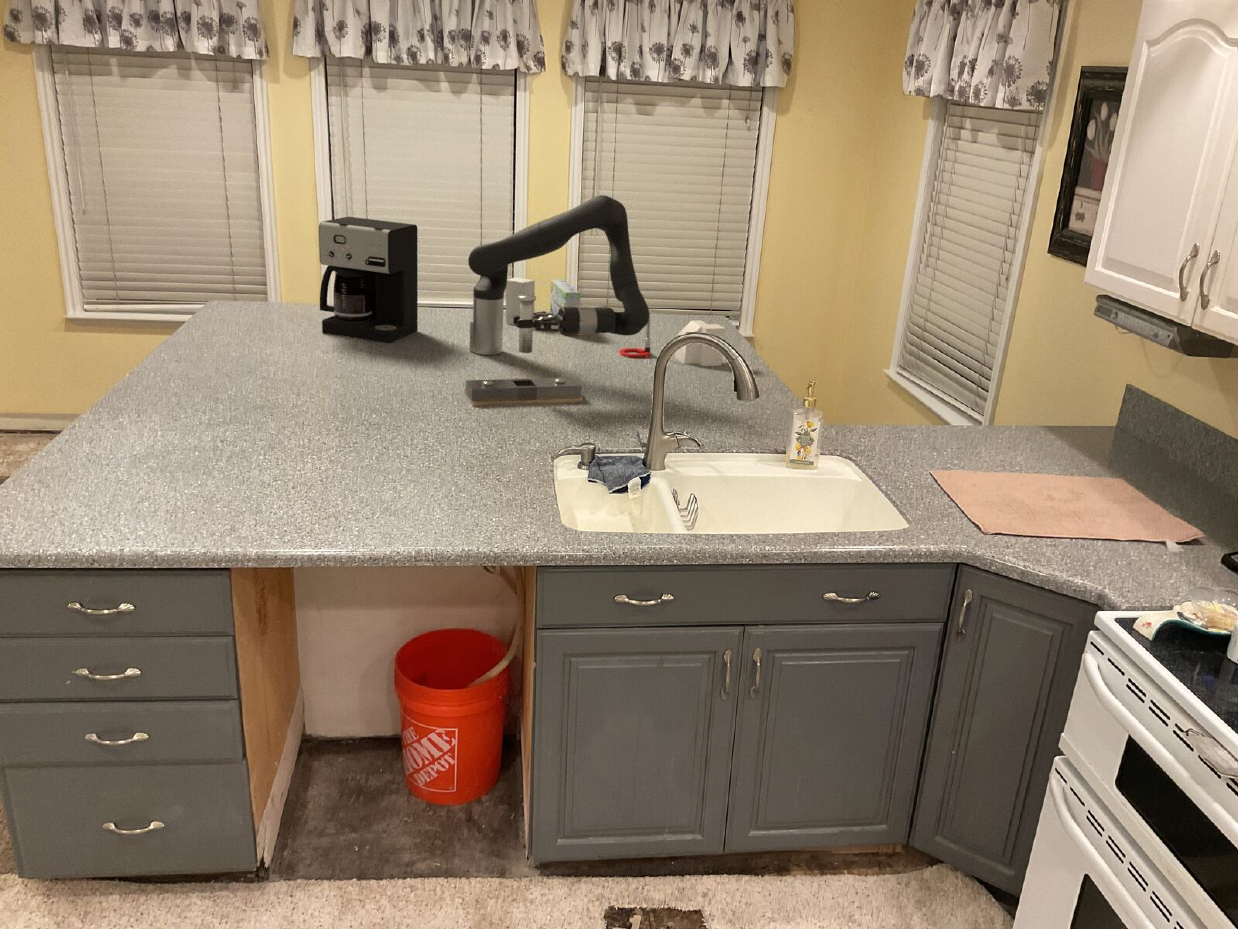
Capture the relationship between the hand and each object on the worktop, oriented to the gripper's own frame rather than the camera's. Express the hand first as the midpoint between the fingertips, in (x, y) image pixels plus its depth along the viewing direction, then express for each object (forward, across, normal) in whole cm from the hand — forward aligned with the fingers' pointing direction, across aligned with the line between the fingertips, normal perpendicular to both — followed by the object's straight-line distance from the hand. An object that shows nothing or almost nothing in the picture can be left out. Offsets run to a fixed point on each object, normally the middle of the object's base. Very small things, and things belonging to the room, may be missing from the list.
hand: (516, 322), depth 269 cm
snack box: (-36, -72, +20) cm, 83 cm away
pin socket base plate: (-2, +2, +20) cm, 20 cm away
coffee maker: (+31, -72, +20) cm, 81 cm away
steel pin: (-3, 0, +8) cm, 8 cm away
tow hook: (-49, -37, +21) cm, 65 cm away
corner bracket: (-67, -27, +21) cm, 75 cm away
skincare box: (-22, -79, +20) cm, 85 cm away
